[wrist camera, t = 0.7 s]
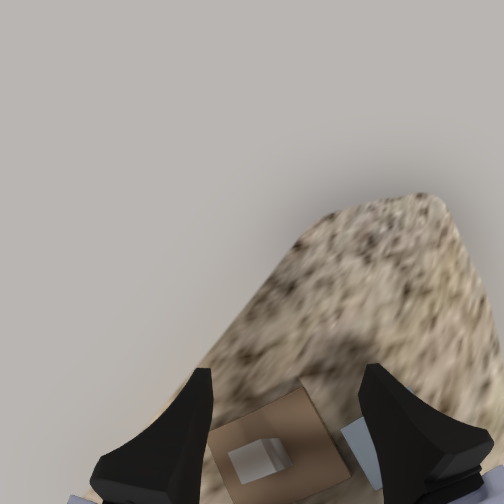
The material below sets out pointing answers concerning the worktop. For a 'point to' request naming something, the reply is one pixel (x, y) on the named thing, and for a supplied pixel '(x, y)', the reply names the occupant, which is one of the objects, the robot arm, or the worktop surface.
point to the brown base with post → (278, 453)
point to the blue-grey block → (364, 449)
